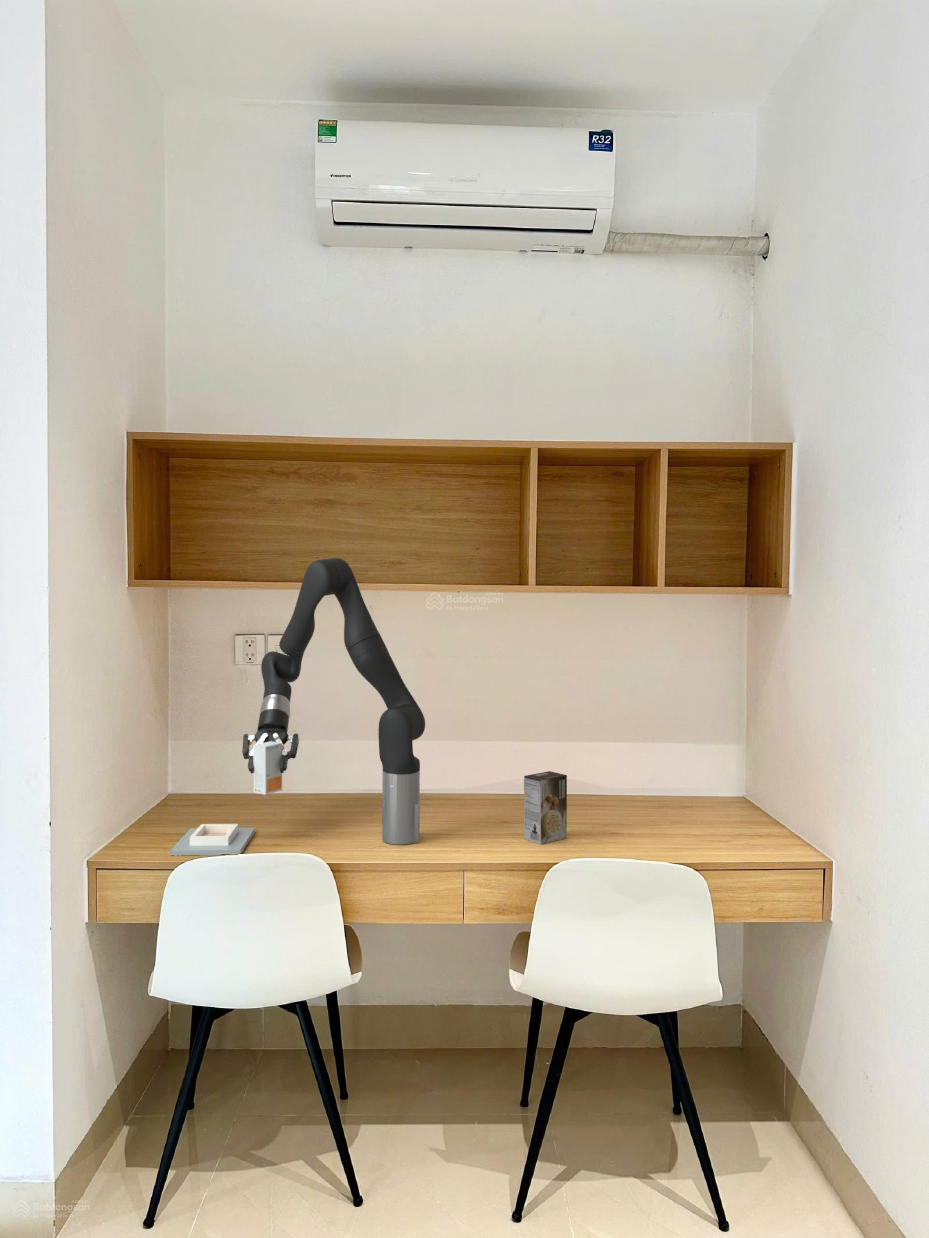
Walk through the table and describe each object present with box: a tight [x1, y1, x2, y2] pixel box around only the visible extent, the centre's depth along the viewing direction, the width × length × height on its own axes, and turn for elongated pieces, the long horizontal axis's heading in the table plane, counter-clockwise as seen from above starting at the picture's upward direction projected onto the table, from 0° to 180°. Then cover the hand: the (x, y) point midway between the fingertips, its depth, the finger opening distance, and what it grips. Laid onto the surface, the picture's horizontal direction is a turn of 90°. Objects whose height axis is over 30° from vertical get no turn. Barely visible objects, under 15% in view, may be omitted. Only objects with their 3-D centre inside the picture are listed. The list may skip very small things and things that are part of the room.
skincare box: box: [252, 741, 283, 796], centre depth 210 cm, size 6×4×12 cm
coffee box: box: [523, 770, 568, 845], centre depth 212 cm, size 9×6×16 cm
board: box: [169, 823, 256, 857], centre depth 206 cm, size 16×18×3 cm
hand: (266, 771), depth 208 cm, fingers closed on skincare box, 6 cm apart
